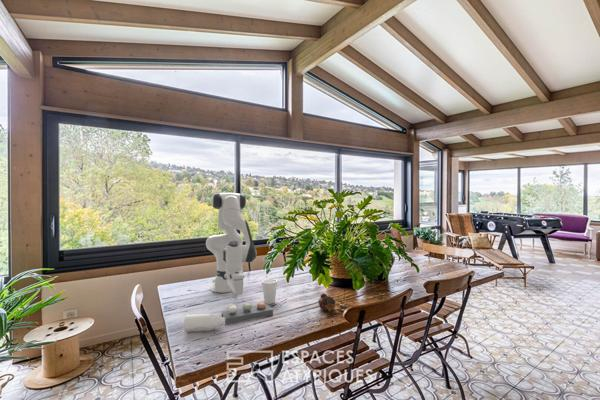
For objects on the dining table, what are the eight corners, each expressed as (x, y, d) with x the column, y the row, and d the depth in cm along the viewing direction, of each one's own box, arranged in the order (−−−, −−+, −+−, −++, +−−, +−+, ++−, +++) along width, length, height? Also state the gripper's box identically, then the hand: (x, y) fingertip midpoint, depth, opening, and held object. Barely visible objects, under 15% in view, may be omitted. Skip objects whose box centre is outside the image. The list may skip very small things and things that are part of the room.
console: (221, 317, 155) (221, 311, 155) (266, 308, 166) (266, 303, 166) (225, 324, 146) (225, 318, 146) (272, 314, 157) (272, 309, 157)
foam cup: (260, 300, 179) (260, 279, 179) (274, 298, 182) (274, 278, 182) (264, 305, 170) (264, 284, 170) (279, 303, 174) (278, 282, 173)
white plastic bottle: (223, 333, 137) (223, 317, 137) (183, 335, 135) (182, 318, 135) (226, 325, 145) (226, 310, 145) (188, 327, 143) (187, 311, 143)
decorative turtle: (328, 303, 172) (328, 291, 172) (340, 315, 158) (341, 301, 157) (313, 305, 169) (314, 292, 168) (324, 317, 154) (325, 303, 154)
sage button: (242, 312, 157) (242, 303, 157) (250, 310, 159) (250, 302, 159) (244, 315, 153) (244, 306, 153) (252, 313, 155) (252, 305, 155)
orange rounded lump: (256, 311, 160) (256, 303, 160) (264, 309, 162) (263, 301, 162) (258, 314, 156) (258, 305, 156) (266, 312, 158) (266, 304, 158)
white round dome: (227, 315, 153) (227, 306, 153) (236, 313, 155) (235, 305, 155) (229, 318, 149) (229, 309, 149) (238, 316, 151) (238, 307, 151)
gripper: (224, 268, 160) (224, 293, 160) (232, 277, 142) (233, 305, 142) (235, 267, 163) (235, 291, 163) (245, 276, 145) (245, 303, 145)
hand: (234, 297), depth 153 cm, fingers closed
